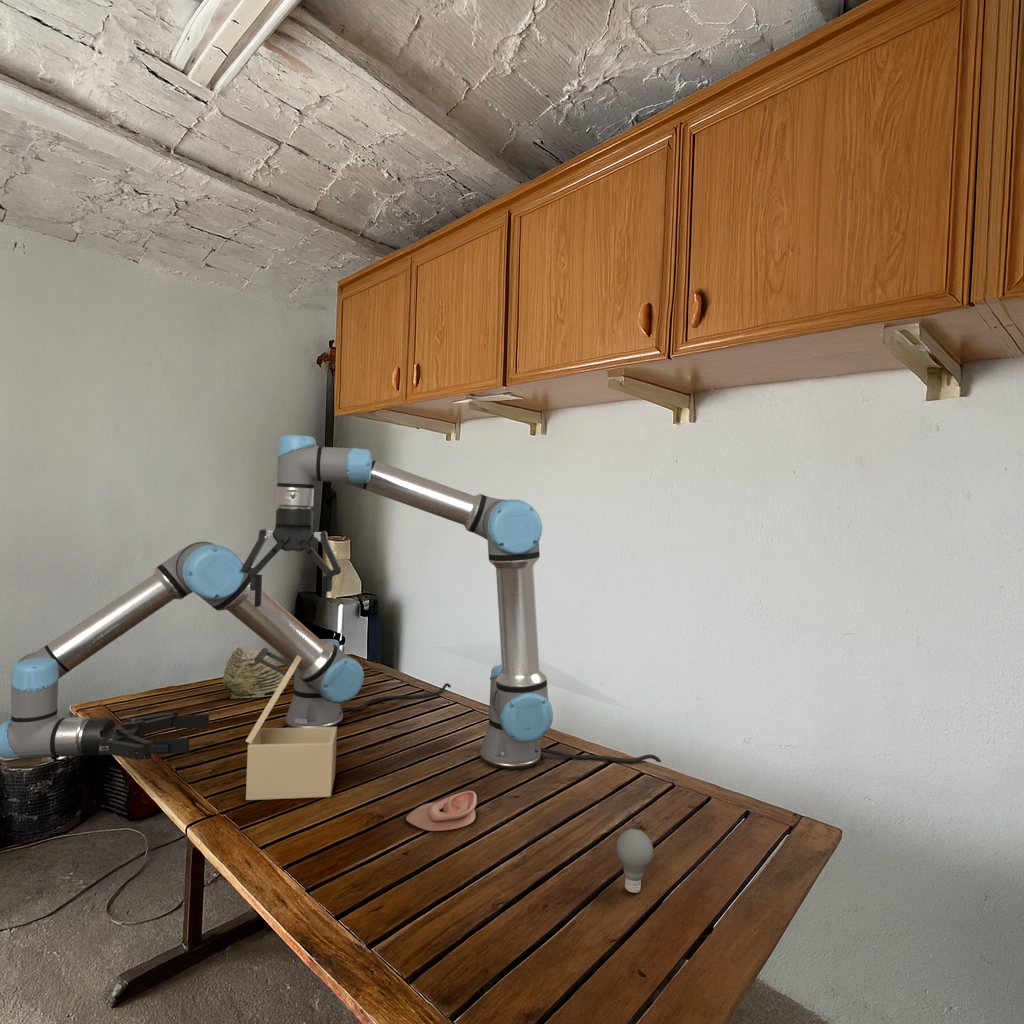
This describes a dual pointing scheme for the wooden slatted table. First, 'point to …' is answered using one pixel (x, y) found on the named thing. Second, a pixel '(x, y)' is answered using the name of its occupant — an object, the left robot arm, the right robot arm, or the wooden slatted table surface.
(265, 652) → the lid
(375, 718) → the wooden slatted table surface
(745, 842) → the wooden slatted table surface
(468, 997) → the wooden slatted table surface
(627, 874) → the light bulb
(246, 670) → the fossil
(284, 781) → the chest
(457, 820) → the anatomical model
